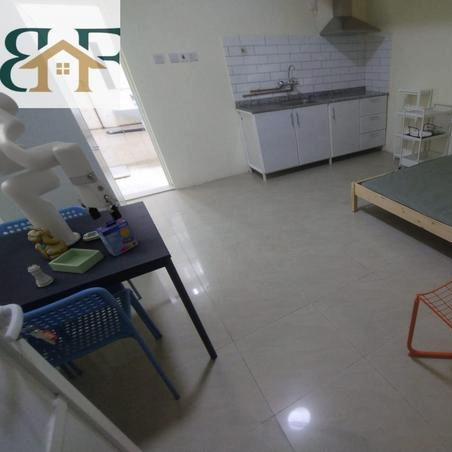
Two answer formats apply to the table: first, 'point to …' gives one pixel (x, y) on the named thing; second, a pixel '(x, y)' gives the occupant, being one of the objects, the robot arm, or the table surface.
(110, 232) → the ink cartridge box
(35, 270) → the rook chess piece
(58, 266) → the open rectangular box
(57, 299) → the table surface
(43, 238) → the decorative figurine
